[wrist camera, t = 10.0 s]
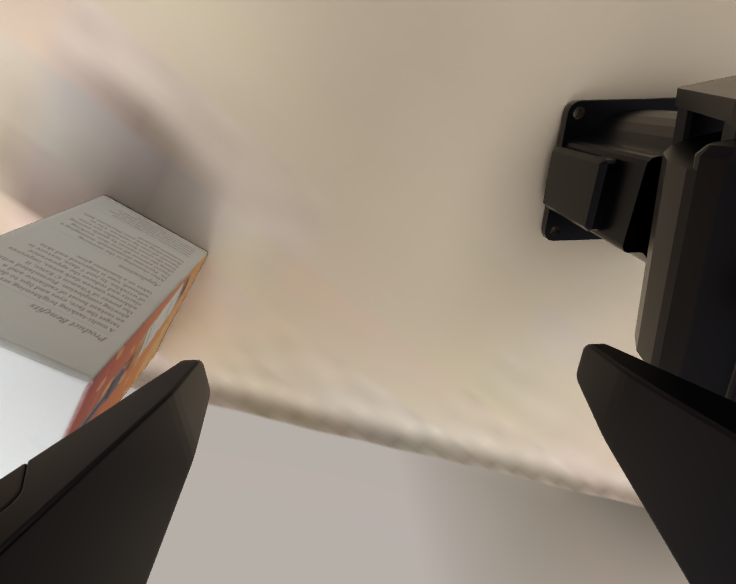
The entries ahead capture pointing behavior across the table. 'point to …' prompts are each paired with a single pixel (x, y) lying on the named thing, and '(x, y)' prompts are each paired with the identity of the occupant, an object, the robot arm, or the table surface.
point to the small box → (81, 317)
